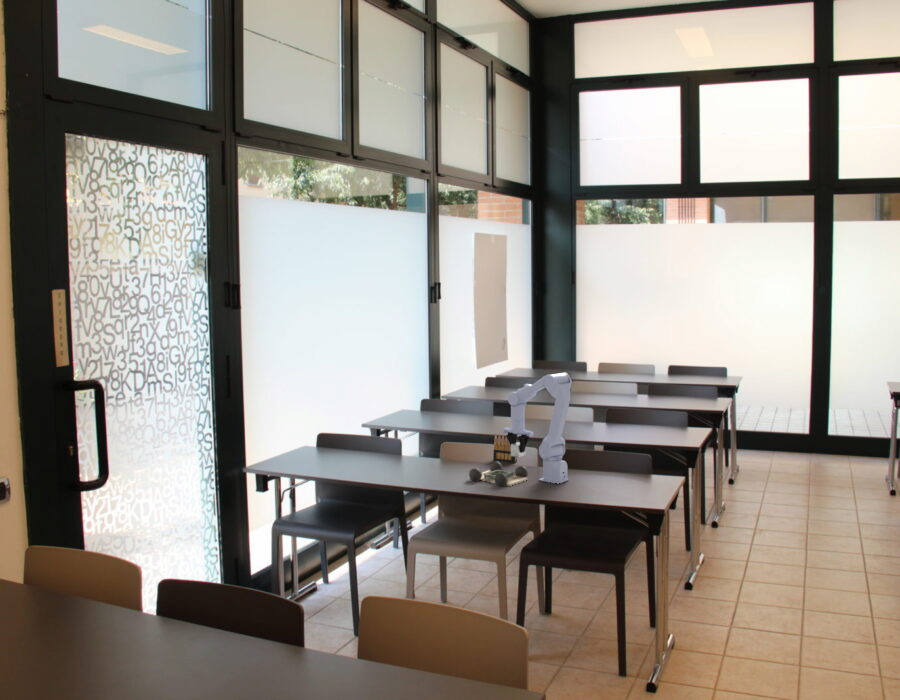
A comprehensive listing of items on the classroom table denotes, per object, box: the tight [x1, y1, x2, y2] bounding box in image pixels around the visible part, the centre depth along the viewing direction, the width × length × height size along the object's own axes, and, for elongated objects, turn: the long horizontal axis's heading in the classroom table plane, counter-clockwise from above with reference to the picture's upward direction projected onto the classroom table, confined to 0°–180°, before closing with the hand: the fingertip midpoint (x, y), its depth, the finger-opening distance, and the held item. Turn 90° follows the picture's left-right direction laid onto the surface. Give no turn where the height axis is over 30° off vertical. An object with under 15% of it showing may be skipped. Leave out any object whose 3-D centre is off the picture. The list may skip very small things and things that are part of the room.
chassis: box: [468, 461, 529, 487], centre depth 347 cm, size 20×16×5 cm
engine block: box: [511, 441, 526, 458], centre depth 360 cm, size 4×5×5 cm
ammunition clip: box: [492, 433, 518, 464], centre depth 377 cm, size 11×2×12 cm, turn 61°
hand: (518, 451), depth 360 cm, fingers closed on engine block, 4 cm apart
